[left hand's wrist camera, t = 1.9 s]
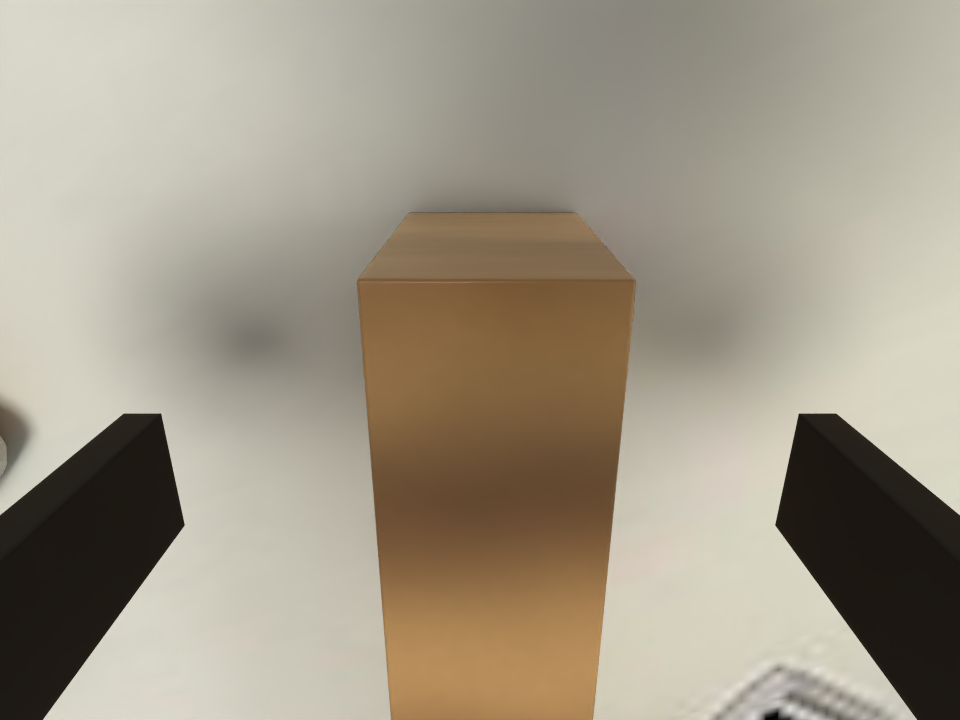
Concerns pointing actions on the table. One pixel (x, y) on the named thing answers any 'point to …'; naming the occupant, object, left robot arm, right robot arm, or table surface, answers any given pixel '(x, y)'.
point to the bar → (494, 458)
